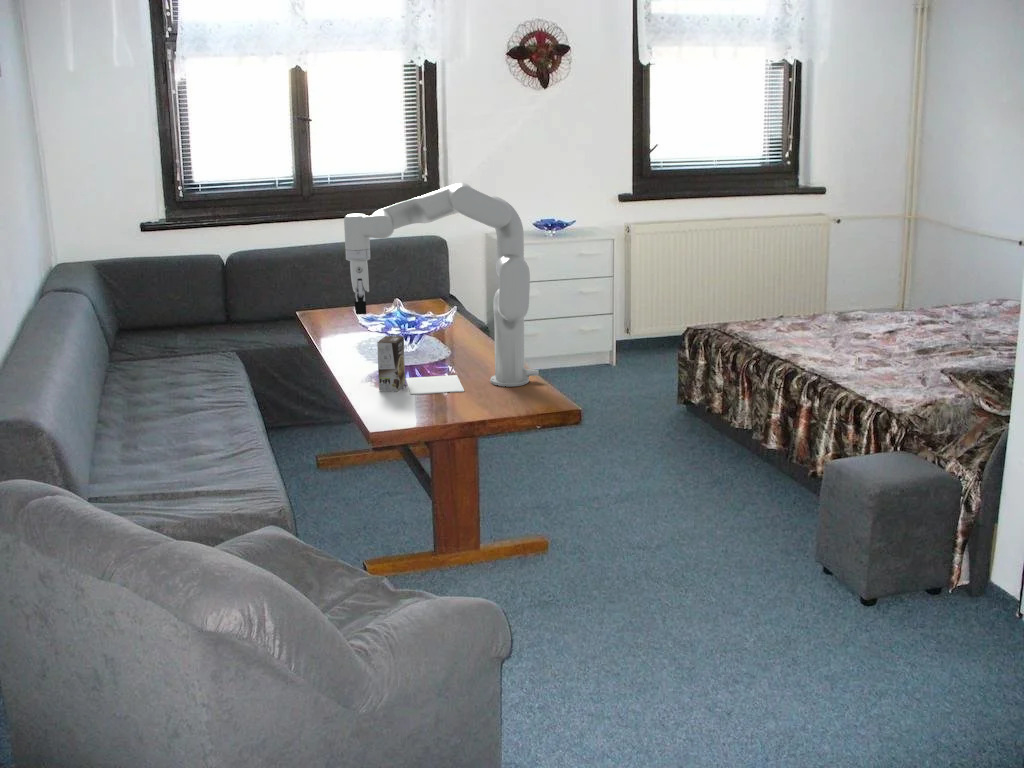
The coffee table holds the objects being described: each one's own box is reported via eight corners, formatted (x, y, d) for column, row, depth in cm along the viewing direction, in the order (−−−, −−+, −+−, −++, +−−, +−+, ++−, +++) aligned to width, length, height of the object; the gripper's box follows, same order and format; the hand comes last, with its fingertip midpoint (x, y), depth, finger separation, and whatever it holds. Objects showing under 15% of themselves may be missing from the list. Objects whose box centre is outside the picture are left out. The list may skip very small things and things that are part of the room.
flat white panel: (456, 376, 367) (456, 375, 367) (464, 391, 350) (464, 390, 350) (405, 379, 365) (405, 377, 364) (410, 394, 348) (410, 393, 348)
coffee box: (397, 392, 350) (396, 342, 346) (378, 391, 352) (376, 341, 347) (406, 384, 359) (404, 335, 354) (387, 383, 360) (385, 335, 356)
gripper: (371, 258, 334) (374, 317, 339) (368, 249, 350) (371, 305, 355) (346, 259, 333) (349, 318, 338) (344, 250, 349) (347, 306, 354)
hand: (360, 311), depth 347 cm, fingers open, 4 cm apart
